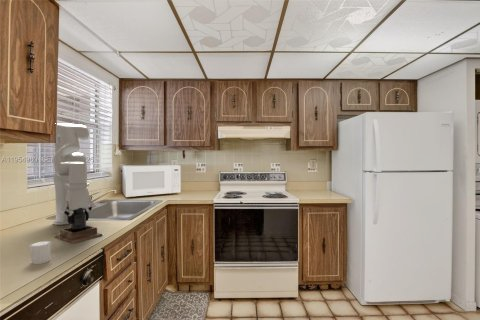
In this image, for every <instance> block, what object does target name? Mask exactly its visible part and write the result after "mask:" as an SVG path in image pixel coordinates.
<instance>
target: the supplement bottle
mask: <svg viewBox="0 0 480 320" xmlns="http://www.w3.org/2000/svg"><path fill="white" fill-rule="evenodd" d="M72 216H73V224H70V227H71V232H73V233H74V232H78V231H82V230H86V225H87V221H86V213H85V211H84V209H83V208H78V209H77V210H74V211H73V213H72Z"/></svg>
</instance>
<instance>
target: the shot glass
mask: <svg viewBox="0 0 480 320" xmlns="http://www.w3.org/2000/svg"><path fill="white" fill-rule="evenodd" d="M28 247H29V252H30V259H31V264H32V265H41V264H44V263H47V262H49V261H50V259H51V250H52V241H51V240H41V241H36V242H32V243H30V244H29V245H28Z"/></svg>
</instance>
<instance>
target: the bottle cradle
mask: <svg viewBox="0 0 480 320" xmlns="http://www.w3.org/2000/svg"><path fill="white" fill-rule="evenodd" d="M102 236H103V233H101V232H98V227H96V226H91V225H89V224H86V230H82V231H78V232H74V233H73V232H71V226H70V227H67V228H62V229H59V233H58V234H55V235H54V238H55V239H56V238H57V239H59V240H62V241H65V242H67V243H70V244H77V243H81V242H84V241H89V240H92V239H96V238H100V237H102Z"/></svg>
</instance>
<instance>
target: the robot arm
mask: <svg viewBox="0 0 480 320" xmlns="http://www.w3.org/2000/svg"><path fill="white" fill-rule="evenodd" d="M89 137H90V131H89V129H88V127H87V126H86V125H83V124H76V123H75V124H74V123H61V122H60V123H59V122H58V123H57V143H55V144H54V150H55V151H54V152H55V153H54V155H53V169H54V174H53V175H52V178H53V184H54V188H55V189H54V190H55V191H54V192H55V220H53V221H52V224H53V225H57V226H59V225H60V226H61V225H62V226H65V225H71V224H73V216H72V213H73V211H74V210H77V209H78V208H83V209H84V211H83V212H85V213H86V222H87V221H89V219H90V212H91V211H92V209H93V207H94V206H95V204H96V203H94V202H93V201H91V200H90V192H89V189H88V188H87V187H89V186H90V183H88V166H87V157H86V155H85V154H84V153H82V152H78V151H79V150H80V147H81V146H80V142H79V141H86V140H88V139H89Z"/></svg>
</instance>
